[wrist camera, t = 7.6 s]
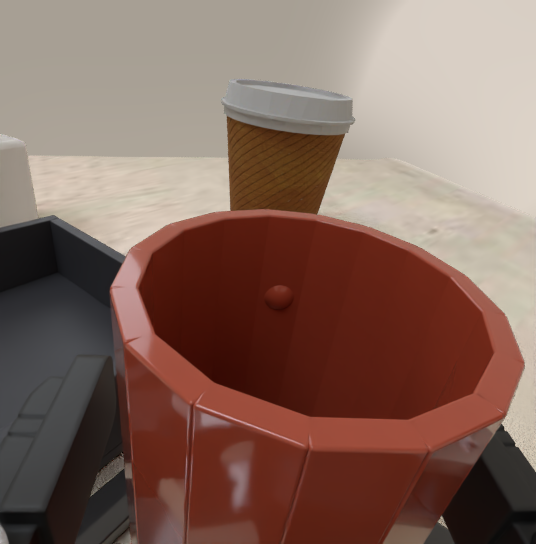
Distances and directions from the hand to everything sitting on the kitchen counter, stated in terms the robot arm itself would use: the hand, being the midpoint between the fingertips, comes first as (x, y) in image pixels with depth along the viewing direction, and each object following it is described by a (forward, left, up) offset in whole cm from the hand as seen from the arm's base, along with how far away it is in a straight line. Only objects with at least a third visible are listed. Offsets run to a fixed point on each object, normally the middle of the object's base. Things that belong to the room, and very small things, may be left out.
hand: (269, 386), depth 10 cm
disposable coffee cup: (+12, -19, -7) cm, 23 cm away
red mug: (0, 0, -7) cm, 7 cm away
